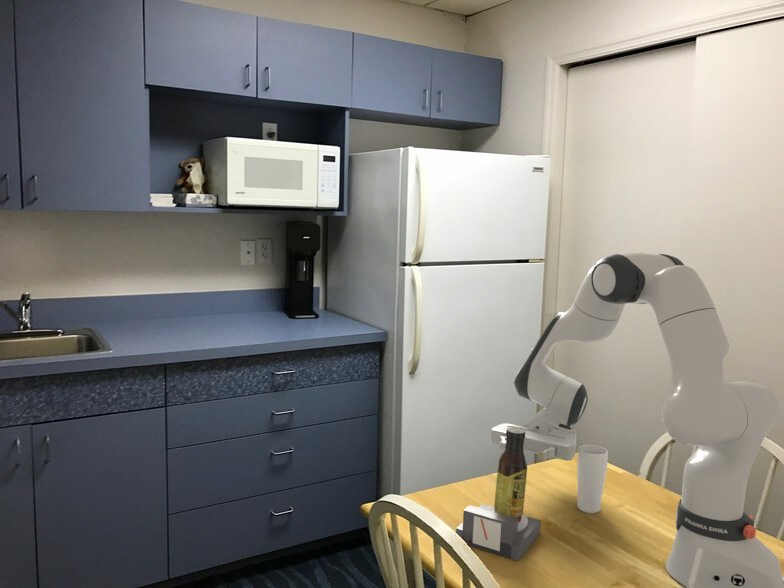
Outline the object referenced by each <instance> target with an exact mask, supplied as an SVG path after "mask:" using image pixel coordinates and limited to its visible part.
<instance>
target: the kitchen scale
mask: <svg viewBox="0 0 784 588" xmlns="http://www.w3.org/2000/svg"><path fill="white" fill-rule="evenodd" d="M462 518H463V519H462V523H460V524H459V525H458V526H457V527H456V529H455V534H456V533H457V534H458V535H459V536H460V537H461V538H462V539H463V540H464V541H465V542H466V543H467V544H468V545H469V547H472V548H474V547H475V549H478V548H479V549H478V550H481V551H484V552H488V553H490V554H494V555H496V556H500V557H504V558H506V559H510V560H513V561H517V562H519V561H520V559H521V558H522V557H523V555H524V554H525V553H526V551H528V549H529V548H530V546H531V545H532V544H533V543H534V541H535V540H536V539H537V538H538V536H539V535H540V534H541V528H542V527H541V526H542V525H541V524H542V520H541V519H538V518H535V517H532V516H527V515H526V514H525V513H524V512H523V514H522V518H521V521H520V522H518V518H514V517H510V516H507V515H503V514H500V513H496V512H495V510H494V505H488V504H483V503H481V504H480V505H479V506H474V505H472V504H469V505H468V506H466V508H464V509H463V515H462ZM468 545H467V546H468Z"/></svg>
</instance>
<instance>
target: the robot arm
mask: <svg viewBox="0 0 784 588" xmlns="http://www.w3.org/2000/svg"><path fill="white" fill-rule="evenodd" d="M626 304H637V305H647V304H649V305H650V306H651V307H652V309H653V311H654V314H655V317H656V321H657V323H658V326H659V329H660V332H661V336H662V339H663V341H664V344H665V347H666V351H667V355H668V357H669V362H670V368H671V382H670V383H671V384H670V390H669V391H670V392H669V393H668V394H669V395H668V396H667V398H666V399H665V401H664V403H663V405H662V408H661V409H662V410H661V418H662V419H661V420H662V423H663V427H664V429H665V430H666V433H667V434H668V435H669V436H670V437H671V439H673V440H674V441H675V442H676V443H678V444H681V445H686V446H697V449H696V450H695V451H694V453H693V454H692V455H691V456H690V457H688V459H687V461H686V463H685V465H684V469H683V478H682V487H681V498H680V499H679V501H678V504H677V508H676V515H675V516H676V518H675V524H676V525H675V527H676V533H675V537H674V541H673V543H672V548H671V551H670V553H669V556H668V558H667V561H666V562H665V569H666V571H667V573H668V574H669V575H670V577H671V578H673V579H674V580H675V581H677V582H678V583H680V584H681V585H683V586H684V587H685V588H784V575H783V571H782V568H781V567H782V566H781V565H780V561H779V559H778V557H777V555H776V554H775V553H774V552H773V551H772V550H771V549H770V548H769V547H768V546H766V545H765V544H764V543H763V542H762V541H761V540H760V539H759V538H758V537H757V536H756V532H757V530H756V528H755V521H754V520H753V519H754V518H753V515H752V514H751V513H750V515H748V514H746V512H744V507H745V499H746V493H747V485H748V480H749V476H750V472H751V469H752V466H753V464H754V462H755V460H756V458H757V455H758V452H759V450H760V448H761V446H762V444H763V442H764V440H765V438H766V437H767V435H768V434H769V432H770V431H771V430H772V429H773V428H774V427H775V426H776V425H777V424H778V422H779V420H780V416H781V405H780V402H779V399H778V397H777V396H776V393H774V391H773V390H771V389H770V388H769V387H767V386H765V385H763V384H761V383H758V382H757V383H756V382H751V381H742V380H741V381H740V380H739V381H731V382H725V380H724V372H723V371H724V370H723V365H724V359H725V357H727V355H728V352H729V351H730V343H729V341H728V338H727V335H726V333H725V330H724V327H723V325H722V322H721V320H720V316H719V314H718V312H717V309H716V307H715V304H714V301H713V299H712V297H711V294H710V293H709V292H708V289H707V287H706V285H705V284H704V281H702V278H701V277H700V276H699V274H698V273H697V271H696V270H695V269H693V268H692V267H690V266H687V265H685V264H684V263H683V261H681V259H679V258H677V257H676V256H673V255H669V254H665V253H660V254H659V253H658V254H656V253H655V254H653V253H644V252H632V253H629V252H628V253H623V254H622V253H621V254H618V253H615V254H611V255H607V256H604V257H602V258H600V259H598V260H597V262H596V263H595V264H594V265H593V266H592V267H591V268H590V269H589V271H588V272H587V274H586V276H585V277H584V279H583V280H582V283H581V284H580V287H578V291H577V293H576V296H575V298H574V300H573V303H572V305H571V306H570V308H569V309H567V310H566V311H561V312H560V311H559V312H558V313H556V314H555V315H554V317H553V318H552V319H551V320H550V321H549V323H547V326H546V327H545V329H544V331H543V332H542V334H541V335H540V337H539V339H538V340H537V342H536V344H535V345H534V347H533V348H532V350H531V353H530V354H529V355H528V356H527V359H526V361H525V362H524V363H523V364H522V366H520V367H519V370H518V371H517V373H516V375H515V378H514V381H513V383H514V387H515V391H516V392H517V394H518V395H519V396H520V397H522V398H523V399H527V400H529V401H532V402H534V403H536V404H538V405H540V406H542V407H543V409H541V410H539V411H538V412H537V413H536V414H535V415H533V416H532V417H531V418H530V419H529V420H527V421H526V422H525V423H524V424H523V425H518V424H513V423H508V422H504V423H500V424H498V425H495V426H493V427H492V428H490V434H489V441H490V443H491V444H493V445H497V446H499V450H502V451H505V450H506V448H505V446H506V439H507V436H506V430H507V429H508V428H520V429H523V430H524V431H525V439H524V444H523V449H524V450H523V452H527V453H530V454H531V453H533V454H536V455H538V459H541V460H544V461H546V460H547V459H551V458H554V459H556V460H557V459H558V460H561V461H567V462H569V461H572V460H574V458H575V457H576V456H575V455H576V454H575V453H576V445H577V429H576V428H574V427H572V426H573V425H576V424H577V423H578V421H580V419H581V417H582V415H583V414H584V412H585V410H586V408H587V404H588V401H589V400H588V399H589V398H588V396H589V395H588V393H587V389H586V387H585V385H584V384H583V383H581V382H579V381H578V380H576V379H573V378H572V377H570V376H568V375H565V374H563V373H561V372H558V371H557V370H555V369H553V368H551V367H549V365H548V364H547V363H546V361H547V360H548V358H549V356H550V354H551V353H552V351H553V349H554V347H556V345H557V344H558V343H562V342H573V343H581V344H593V343H598V342H602V341H605V340H606V339H607V338H609V337H610V336H611V335H612V334H613V333H614V331H615V329H616V327H617V325H618V323H619V320H620V318H621V315H622V314H623V310H624V308H625V306H626Z"/></svg>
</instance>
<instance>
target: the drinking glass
mask: <svg viewBox="0 0 784 588" xmlns="http://www.w3.org/2000/svg"><path fill="white" fill-rule="evenodd" d="M608 454H609V452H608V449H606V448H605V447H603V446H600V445H597V444H582V445H580V446H578V452H577V460H576V461H577V463H576V464H577V469H576V470H577V471H576V472H577V473H576V474H577V479H576V480H577V501H576V502H577V505H576V506H577V509H578V510H580V512H583V513H586V514H596V513H599V512H600V511H601V507H602V506H601V505H602V504H601V503H602V498H603V497H602V496H603V493H604V492H603V491H604V485H605V481H606V475H607V468H608V460H609V459H608V458H609V455H608Z"/></svg>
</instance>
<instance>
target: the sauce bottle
mask: <svg viewBox="0 0 784 588" xmlns="http://www.w3.org/2000/svg"><path fill="white" fill-rule="evenodd" d="M506 436H507V439H506V446H505V448H506V450H503V452H502V453H501V455H500V456H499V459H498V468H497V470H496V471H497V473H496V483H495V493H494V505H493V506H494V510H495V512H496V513H500V514H503V515H507V516H510V517H514V518H518V522H520V521H521V518H522V514H523V513H524V504H525V496H526V495H525V494H526V485H527V475H528V465H527V461H526V456H525V454H524V452H525V451H523V450H524V449H523V444H524V439H525V431H524V430H523V429H520V428H508V429H507V430H506Z"/></svg>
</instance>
